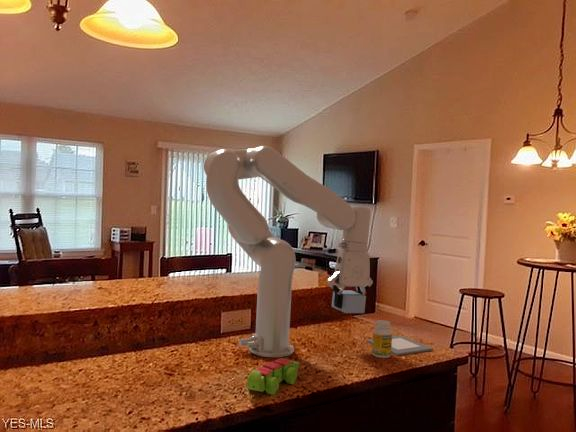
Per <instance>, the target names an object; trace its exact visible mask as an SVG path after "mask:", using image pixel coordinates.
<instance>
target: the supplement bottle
mask: <svg viewBox="0 0 576 432" xmlns="http://www.w3.org/2000/svg"><path fill="white" fill-rule="evenodd" d="M375 326H376V327H374V329H373V330H372V339H373V344H372V349H371V351H372V352H371V354H372V355H373V356H374V357H377V358H380V359H381V358H382V359H386V358H387V359H388V358H390V357H391V355H392V353H391V346H392V336H393V331H392V329H391V328H390V327H391V322H390V321H388V320H382V319H378V320H376V321H375Z"/></svg>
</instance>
